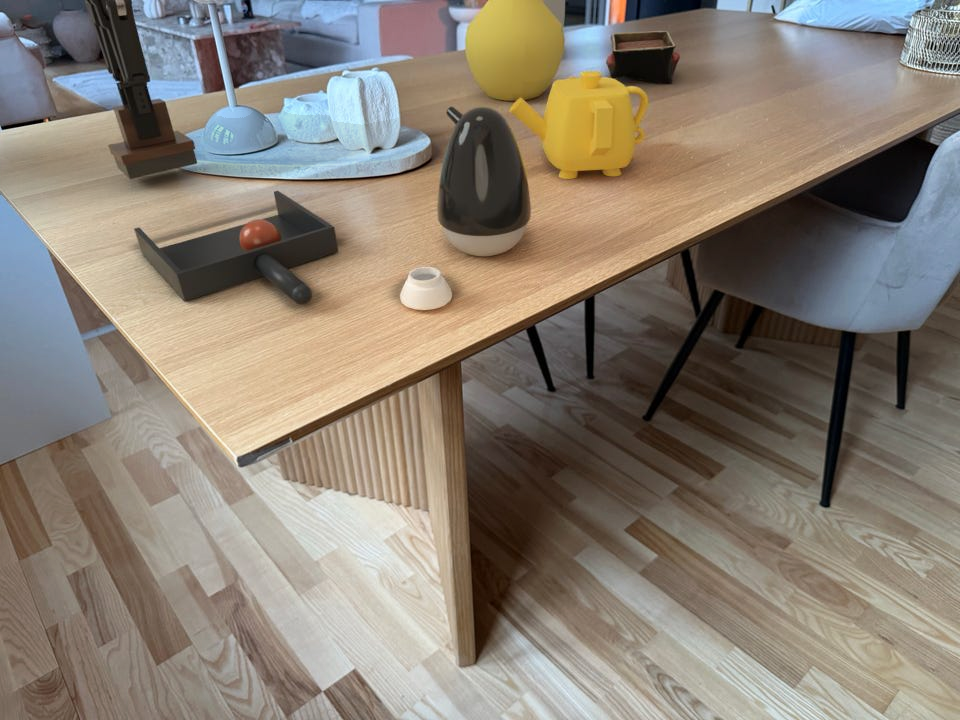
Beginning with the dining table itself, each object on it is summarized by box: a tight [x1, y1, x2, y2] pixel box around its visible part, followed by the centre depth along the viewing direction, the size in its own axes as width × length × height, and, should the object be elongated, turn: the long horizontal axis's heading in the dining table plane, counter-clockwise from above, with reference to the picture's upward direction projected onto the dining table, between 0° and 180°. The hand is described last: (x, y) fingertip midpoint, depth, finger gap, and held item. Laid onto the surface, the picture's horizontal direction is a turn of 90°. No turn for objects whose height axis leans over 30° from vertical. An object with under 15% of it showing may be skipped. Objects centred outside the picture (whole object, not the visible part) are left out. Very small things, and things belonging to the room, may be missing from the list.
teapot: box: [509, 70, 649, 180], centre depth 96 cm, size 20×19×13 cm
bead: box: [239, 218, 281, 252], centre depth 76 cm, size 4×4×4 cm
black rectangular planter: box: [605, 30, 681, 85], centre depth 141 cm, size 14×18×10 cm
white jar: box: [399, 266, 453, 311], centre depth 68 cm, size 5×3×5 cm
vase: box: [464, 0, 566, 102], centre depth 125 cm, size 18×18×30 cm
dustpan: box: [133, 190, 339, 305], centre depth 74 cm, size 25×17×3 cm
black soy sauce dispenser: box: [436, 106, 532, 257], centre depth 74 cm, size 10×10×15 cm
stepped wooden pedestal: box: [107, 98, 198, 180], centre depth 93 cm, size 6×9×8 cm
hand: (146, 134), depth 93 cm, fingers closed on stepped wooden pedestal, 2 cm apart
